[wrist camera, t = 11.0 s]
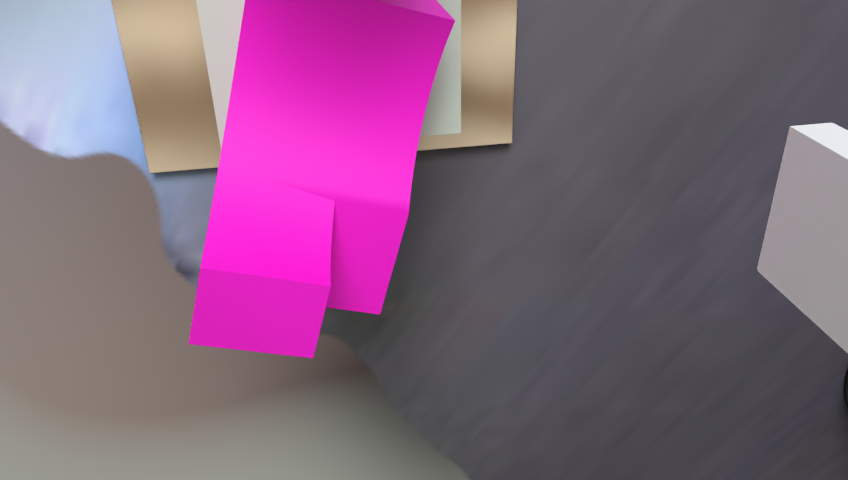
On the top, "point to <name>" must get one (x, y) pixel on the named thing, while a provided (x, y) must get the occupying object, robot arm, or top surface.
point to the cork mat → (192, 99)
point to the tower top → (220, 36)
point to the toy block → (314, 167)
